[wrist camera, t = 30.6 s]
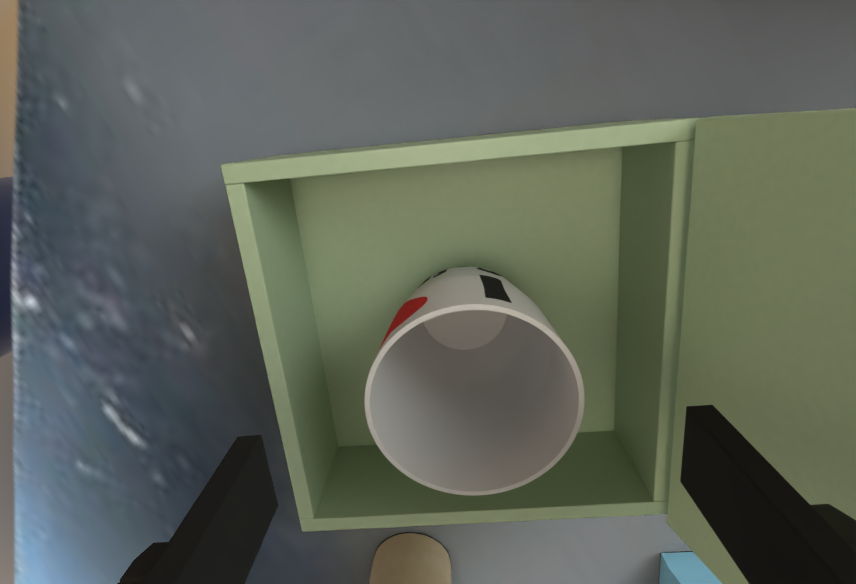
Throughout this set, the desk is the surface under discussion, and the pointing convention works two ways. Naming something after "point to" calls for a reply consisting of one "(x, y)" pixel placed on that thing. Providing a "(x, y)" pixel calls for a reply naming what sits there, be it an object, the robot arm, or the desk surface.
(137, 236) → the desk surface
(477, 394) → the cup
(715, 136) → the lid
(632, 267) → the chest
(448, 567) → the candle
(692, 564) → the planter
